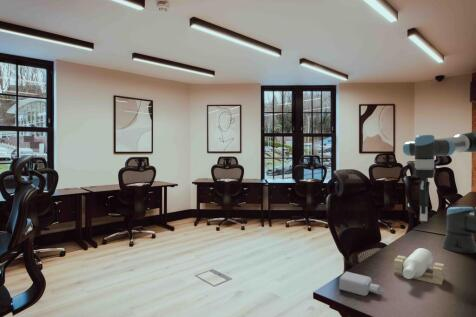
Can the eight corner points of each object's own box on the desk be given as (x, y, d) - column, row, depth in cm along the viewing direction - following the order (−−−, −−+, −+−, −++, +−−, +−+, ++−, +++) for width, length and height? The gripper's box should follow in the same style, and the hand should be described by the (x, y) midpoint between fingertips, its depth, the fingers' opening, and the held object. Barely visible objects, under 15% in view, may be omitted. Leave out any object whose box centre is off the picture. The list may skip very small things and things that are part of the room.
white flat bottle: (382, 302, 104) (339, 290, 113) (387, 292, 111) (346, 282, 120) (382, 288, 104) (339, 278, 113) (387, 280, 111) (346, 270, 120)
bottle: (437, 262, 133) (423, 282, 111) (419, 267, 138) (403, 287, 115) (427, 245, 136) (412, 261, 113) (409, 250, 140) (392, 266, 118)
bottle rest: (398, 268, 134) (398, 255, 134) (443, 278, 123) (443, 264, 123) (394, 273, 128) (394, 260, 128) (441, 285, 117) (441, 269, 117)
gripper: (417, 168, 143) (416, 217, 143) (412, 169, 133) (411, 221, 133) (435, 168, 138) (435, 219, 138) (432, 169, 128) (431, 224, 128)
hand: (423, 220), depth 136 cm, fingers closed
